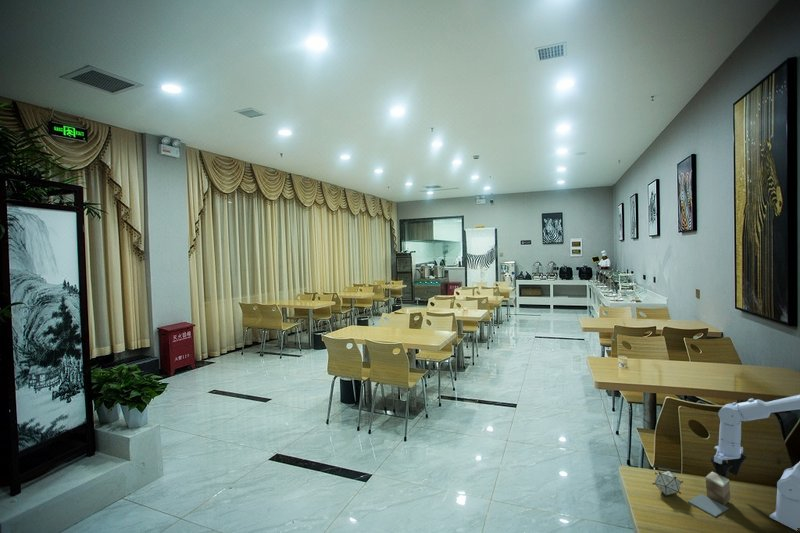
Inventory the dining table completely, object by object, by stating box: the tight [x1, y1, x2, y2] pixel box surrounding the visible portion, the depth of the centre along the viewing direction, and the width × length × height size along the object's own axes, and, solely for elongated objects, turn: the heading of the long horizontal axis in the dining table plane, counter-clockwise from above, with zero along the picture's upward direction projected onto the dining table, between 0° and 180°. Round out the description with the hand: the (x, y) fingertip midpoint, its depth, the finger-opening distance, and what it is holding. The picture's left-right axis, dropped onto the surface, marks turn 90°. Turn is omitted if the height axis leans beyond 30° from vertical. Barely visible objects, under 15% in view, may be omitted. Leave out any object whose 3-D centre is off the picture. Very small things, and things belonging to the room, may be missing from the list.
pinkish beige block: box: [705, 471, 731, 506], centre depth 136 cm, size 5×4×8 cm
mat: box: [688, 493, 729, 518], centre depth 134 cm, size 8×8×1 cm
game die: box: [651, 467, 684, 499], centre depth 140 cm, size 9×8×10 cm
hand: (727, 477), depth 139 cm, fingers open, 7 cm apart
